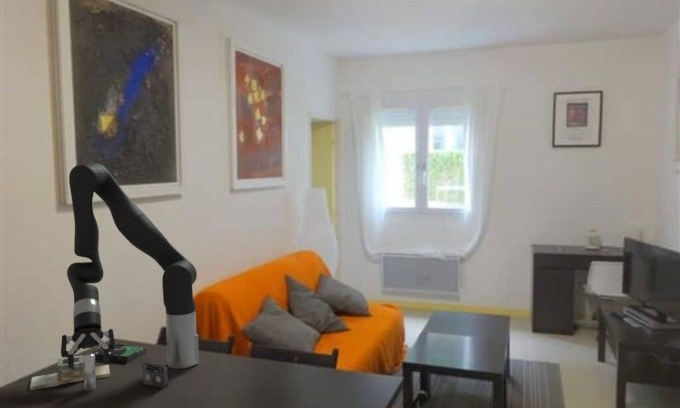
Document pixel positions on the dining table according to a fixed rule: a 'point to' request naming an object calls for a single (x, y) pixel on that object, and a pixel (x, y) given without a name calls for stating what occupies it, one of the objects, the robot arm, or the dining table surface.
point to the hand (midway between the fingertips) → (89, 365)
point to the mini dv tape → (155, 375)
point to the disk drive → (121, 353)
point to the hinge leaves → (67, 374)
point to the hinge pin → (89, 371)
